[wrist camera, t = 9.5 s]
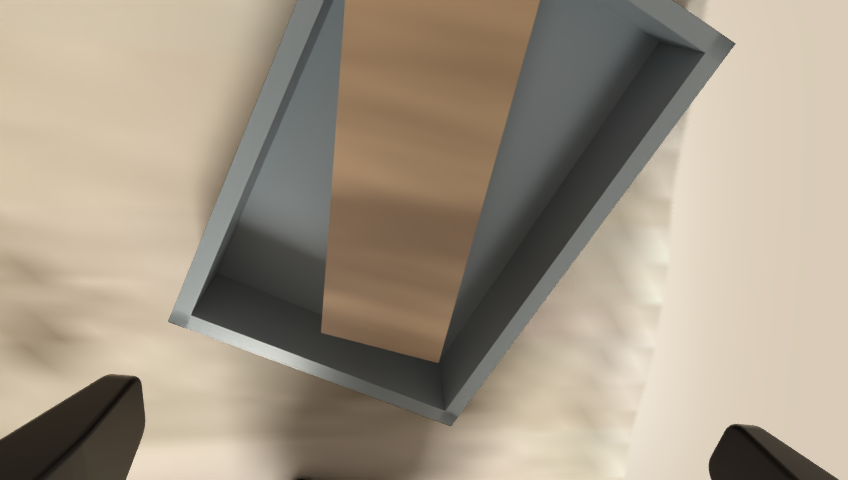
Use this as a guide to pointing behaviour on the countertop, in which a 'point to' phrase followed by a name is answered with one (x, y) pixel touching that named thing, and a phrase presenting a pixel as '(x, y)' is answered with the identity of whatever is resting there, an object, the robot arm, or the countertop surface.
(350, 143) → the brown block
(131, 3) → the countertop surface
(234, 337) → the tray
